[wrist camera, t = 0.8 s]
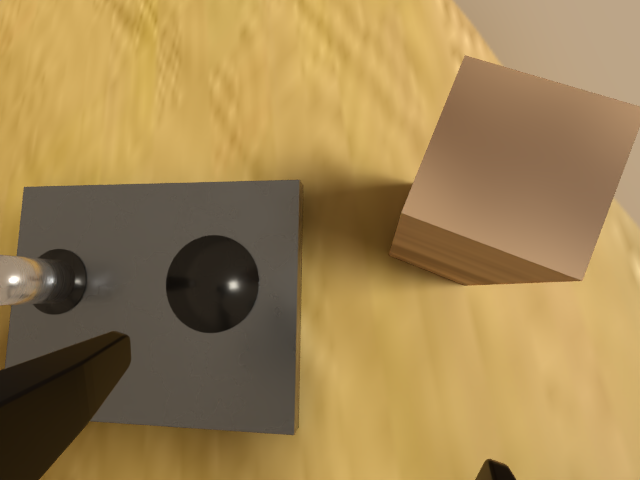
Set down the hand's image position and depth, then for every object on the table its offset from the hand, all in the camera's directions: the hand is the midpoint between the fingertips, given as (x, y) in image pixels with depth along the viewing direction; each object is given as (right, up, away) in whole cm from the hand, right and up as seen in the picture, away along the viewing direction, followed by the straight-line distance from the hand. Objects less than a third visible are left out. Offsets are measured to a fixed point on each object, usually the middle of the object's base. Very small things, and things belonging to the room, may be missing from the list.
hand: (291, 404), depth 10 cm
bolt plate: (-9, 0, +15) cm, 18 cm away
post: (+8, +4, +13) cm, 16 cm away
